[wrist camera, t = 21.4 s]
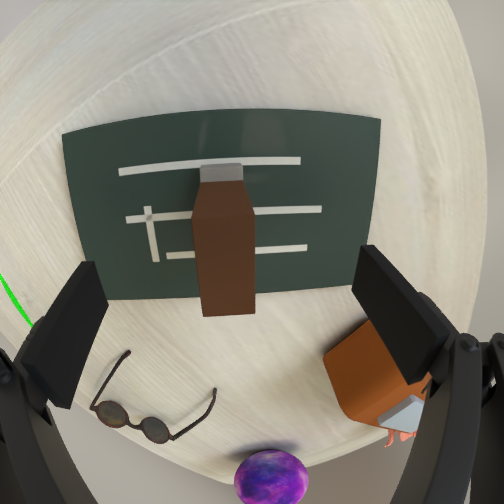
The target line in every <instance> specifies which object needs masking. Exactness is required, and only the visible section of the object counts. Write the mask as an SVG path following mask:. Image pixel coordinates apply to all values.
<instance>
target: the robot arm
mask: <svg viewBox="0 0 504 504" xmlns="http://www.w3.org/2000/svg"><path fill="white" fill-rule="evenodd" d="M351 291H352V292H353V294H354V295H355V297H356V299H357V300H358V302H359V303H360V305H361V306H362V308H363V310H364V311H365V313H366V314H367V316H368V318H369V319H370V321H371V323H372V324H373V326H374V328H375V329H376V331H377V333H378V334H379V336H380V338H381V339H382V341H383V343H384V344H385V346H386V348H387V349H388V351H389V353H390V355H391V356H392V358H393V360H394V362H395V363H396V365H397V367H398V369H399V370H400V372H401V374H402V376H403V378H404V379H405V381H406V383H407V385H408V386H409V385H412V384H414V383H417V382H420V381H422V380H423V379H424V377H425V376H426V374H427V372H428V371H429V373H430V375H431V376H432V377H431V378H430V380H429V381H428V383H427V384H426V386H425V387H424V388H423V390H422V392H421V394H423V393H424V392H425V391H426V389H427V392H426V397H425V402H424V406H423V410H422V414H421V418H420V422H419V426H418V429H417V433H416V436H415V439H414V443H413V446H412V449H411V452H410V455H409V458H408V460H407V463H406V466H405V469H404V471H403V474H402V477H401V479H400V481H399V484H398V486H397V489H396V491H395V493H394V496H393V498H392V500H391V502H390V504H464V500H465V497H466V493H467V490H468V486H469V482H470V478H471V491H470V503H469V504H504V334H502V333H495V334H494V335H493V337H492V338H491V340H490V341H489V342H478V340H477V339H476V338H475V337H474V336H472V335H470V334H467V333H461V334H460V333H459V332H458V331H457V330H456V328H455V327H454V326H453V325H452V323H451V322H450V321H449V320H448V319H447V317H446V316H445V315H444V314H443V313H441V310H440V309H439V308H438V307H436V304H435V303H434V302H433V301H432V300H431V299H430V298H429V297H428V296H426V295H425V294H423V293H422V292H417V291H416V290H415V289H414V288H413V287H412V285H411V284H410V283H409V282H408V281H407V280H406V279H405V278H404V277H403V275H402V274H401V273H400V272H399V271H398V270H397V269H396V268H395V267H394V266H393V265H392V264H391V262H390V261H389V260H388V259H387V258H386V257H385V256H384V255H383V254H382V253H381V252H380V251H379V250H378V249H377V248H376V247H375V246H374V245H361V246H360V251H359V256H358V261H357V266H356V271H355V276H354V281H353V285H352V289H351ZM108 306H109V304H108V302H107V299H106V296H105V293H104V290H103V287H102V284H101V281H100V278H99V275H98V272H97V269H96V265H95V262H94V261H82V262H81V263H80V264H79V266H78V267H77V269H76V270H75V271H74V273H73V274H72V276H71V277H70V278H69V280H68V281H67V283H66V284H65V286H64V287H63V289H62V290H61V292H60V293H59V295H58V296H57V298H56V299H55V301H54V302H53V304H52V305H51V307H50V308H49V310H48V312H47V313H46V315H45V316H42V317H41V318H40V319H39V320H38V321H37V322H36V323H35V324H34V325H33V327H32V329H31V330H30V334H28V335H27V337H26V341H24V342H23V344H22V346H21V348H20V350H19V351H18V353H17V355H16V357H15V359H14V361H13V362H12V361H11V360H10V358H9V357H8V355H7V354H6V353H5V351H4V350H3V349H1V348H0V504H98V503H97V501H96V500H95V498H94V497H93V495H92V493H91V492H90V490H89V489H88V487H87V485H86V484H85V482H84V480H83V479H82V477H81V476H80V473H79V472H78V470H77V468H76V466H75V464H74V463H73V460H72V458H71V457H70V455H69V452H68V451H67V448H66V446H65V444H64V442H63V440H62V438H61V436H60V433H59V431H58V429H57V426H56V424H55V421H54V419H53V416H52V414H51V411H50V409H49V408H48V406H47V405H46V403H47V400H48V399H49V400H50V401H51V402H52V403H53V404H54V405H55V406H56V407H60V408H65V409H70V408H71V404H72V401H73V398H74V395H75V392H76V389H77V385H78V383H79V380H80V377H81V374H82V371H83V368H84V365H85V363H86V360H87V357H88V355H89V352H90V349H91V347H92V344H93V342H94V339H95V337H96V334H97V332H98V329H99V327H100V325H101V322H102V320H103V318H104V315H105V313H106V311H107V308H108ZM494 378H495V380H496V384H495V385H494V386H493V387H492V385H491V381H492V380H493V379H494Z"/></svg>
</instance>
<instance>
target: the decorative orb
mask: <svg viewBox="0 0 504 504" xmlns="http://www.w3.org/2000/svg"><path fill="white" fill-rule="evenodd" d="M234 486H235V490H236V493H237V495H238V497H239V498H240V499H241V500H242V501H243V502H244V503H245V504H296V503H297V502H298V501H299V500H300V499H301V498H302V497H303V495H304V494H305V492H306V490H307V487H308V474H307V471H306V468H305V467H304V465H303V464H302V462H301V461H300V460H299V459H297V458H296V457H295V456H293V455H291V454H289V453H286V452H283V451H278V450H267V451H262V452H258V453H255V454H253V455H251V456H250V457H248V458H247V459H245V460H244V461H243V462H242V463H241V464H240V466H239V467H238V469H237V471H236V474H235V477H234Z"/></svg>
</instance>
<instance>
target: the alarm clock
mask: <svg viewBox="0 0 504 504" xmlns="http://www.w3.org/2000/svg"><path fill="white" fill-rule="evenodd" d="M323 362H324V365H325V368H326V370H327V373H328V376H329V378H330V381H331V384H332V386H333V389H334V392H335V394H336V397H337V400H338V403H339V405H340V407H341V409H342V410H343V412H344V413H345V415H346V416H347V417H348V418H350V419H351V420H353V421H357V422H361V423H365V424H368V425H372V426H376V427H380V428H385V429H389V430H394V431H398V432H403V433H413V432H415V431H416V430H417V429H418V426H419V422H420V418H421V414H422V410H423V406H424V402H425V397H426V392H427V389H426V391H425V392H424V393H423V394H421V392H422V390H423V388H424V387H425V386H426V384H427V383H428V381H429V380H430V378H431V377H432V376H431V375H430V373H429V371H428V372H427V374H426V376H425V377H424V379H423V380H422V381H420V382H417V383H414V384H412V385H409V386H408V385H407V383H406V381H405V379H404V378H403V376H402V374H401V372H400V370H399V369H398V367H397V365H396V363H395V362H394V360H393V358H392V356H391V355H390V353H389V351H388V349H387V348H386V346H385V344H384V343H383V341H382V339H381V338H380V336H379V334H378V333H377V331H376V329H375V328H374V326H373V324H372V323H371V321H370V319H369V320H368V321H366V322H365V323H364V324H363V325H362V326H360V327H359V328H358V329H357V330H356V331H354V332H353V333H352V334H351V335H349V336H348V337H347V338H346V339H344V340H343V341H342V342H341V343H339V344H338V345H337V346H335V347H334V348H333V349H331V350H330V351H329V352H328V353H326V354H325V355H324V357H323Z"/></svg>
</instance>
